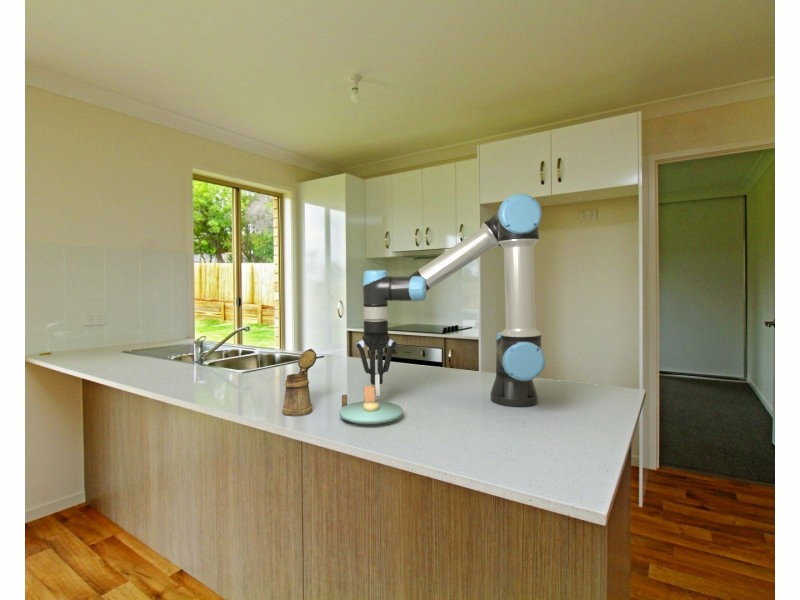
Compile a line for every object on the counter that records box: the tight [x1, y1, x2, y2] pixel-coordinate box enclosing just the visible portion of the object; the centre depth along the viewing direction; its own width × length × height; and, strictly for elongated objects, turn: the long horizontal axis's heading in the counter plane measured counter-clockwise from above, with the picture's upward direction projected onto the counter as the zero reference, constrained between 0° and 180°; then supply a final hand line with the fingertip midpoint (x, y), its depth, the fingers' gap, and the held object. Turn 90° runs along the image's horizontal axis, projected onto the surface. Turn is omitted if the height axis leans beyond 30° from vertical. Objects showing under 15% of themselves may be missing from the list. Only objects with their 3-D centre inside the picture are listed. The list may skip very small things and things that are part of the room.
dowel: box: [341, 394, 348, 408], centre depth 132 cm, size 2×2×5 cm
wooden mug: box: [281, 348, 318, 417], centre depth 133 cm, size 9×14×18 cm, turn 163°
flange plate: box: [339, 385, 403, 425], centre depth 127 cm, size 18×21×5 cm
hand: (376, 394), depth 137 cm, fingers closed
